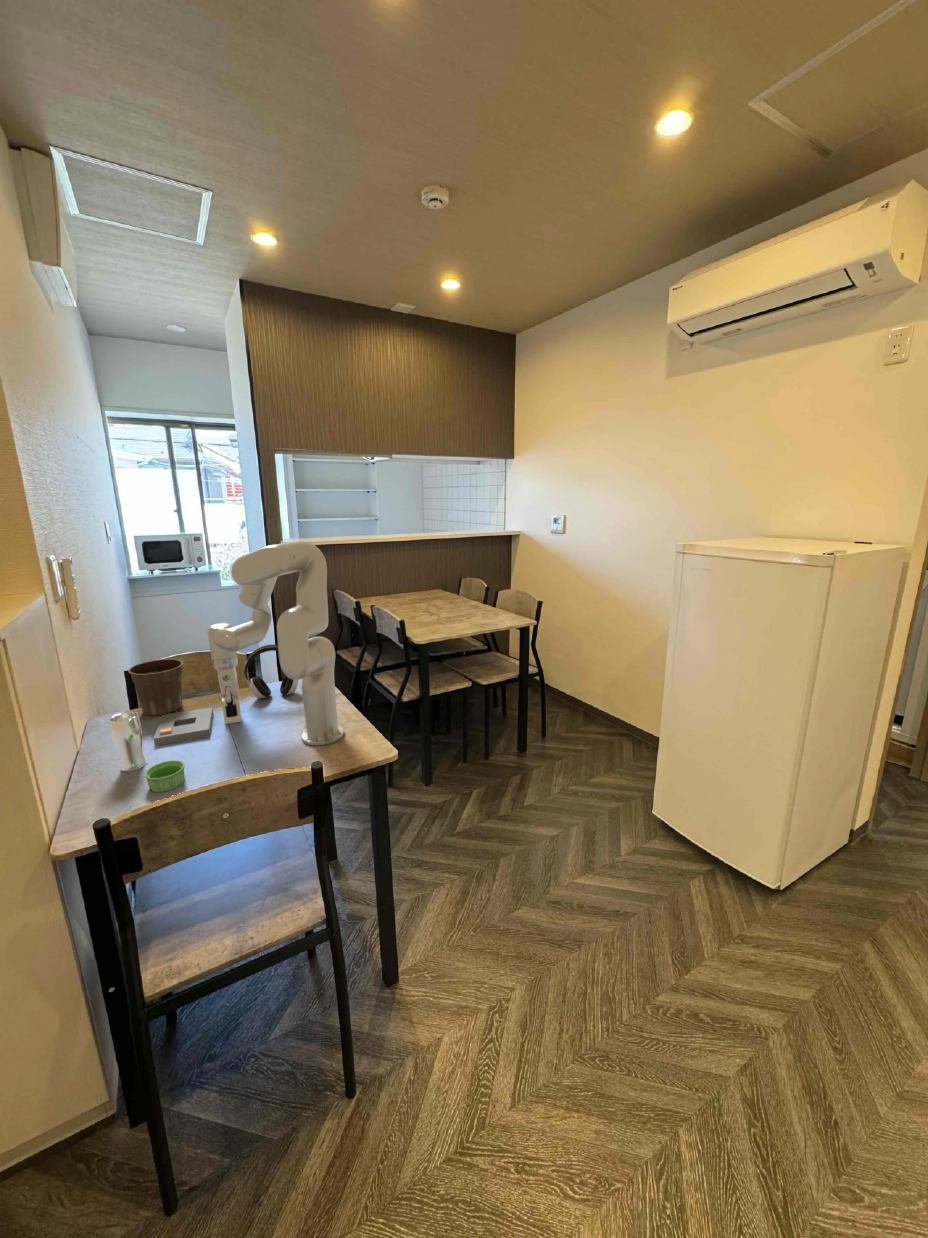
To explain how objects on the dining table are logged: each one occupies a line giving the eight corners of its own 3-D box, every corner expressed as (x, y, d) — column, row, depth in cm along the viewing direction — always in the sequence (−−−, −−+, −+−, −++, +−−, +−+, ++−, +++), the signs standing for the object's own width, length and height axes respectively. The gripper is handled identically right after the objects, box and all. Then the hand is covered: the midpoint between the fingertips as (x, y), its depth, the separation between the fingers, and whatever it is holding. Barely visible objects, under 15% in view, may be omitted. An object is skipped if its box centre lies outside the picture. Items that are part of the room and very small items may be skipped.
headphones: (301, 688, 194) (296, 639, 189) (303, 696, 186) (298, 645, 181) (247, 696, 187) (240, 645, 182) (247, 705, 179) (240, 652, 174)
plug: (241, 721, 166) (237, 694, 164) (224, 724, 164) (221, 696, 162) (241, 717, 169) (238, 690, 167) (225, 719, 167) (221, 693, 165)
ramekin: (168, 772, 136) (165, 758, 135) (194, 777, 134) (192, 762, 133) (139, 791, 128) (135, 775, 127) (166, 796, 125) (163, 780, 124)
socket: (209, 736, 156) (208, 726, 156) (154, 745, 151) (152, 736, 150) (213, 713, 173) (212, 705, 172) (163, 721, 167) (162, 712, 166)
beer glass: (126, 775, 135) (116, 724, 131) (113, 768, 139) (103, 718, 135) (153, 763, 141) (144, 714, 137) (140, 757, 144) (131, 709, 141)
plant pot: (193, 697, 187) (186, 656, 183) (184, 714, 172) (177, 670, 168) (143, 703, 182) (135, 661, 178) (130, 722, 167) (121, 676, 163)
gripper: (237, 667, 156) (244, 721, 160) (238, 652, 171) (244, 702, 175) (210, 671, 153) (218, 726, 158) (213, 655, 168) (221, 706, 172)
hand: (232, 713), depth 166 cm, fingers closed on plug, 3 cm apart
